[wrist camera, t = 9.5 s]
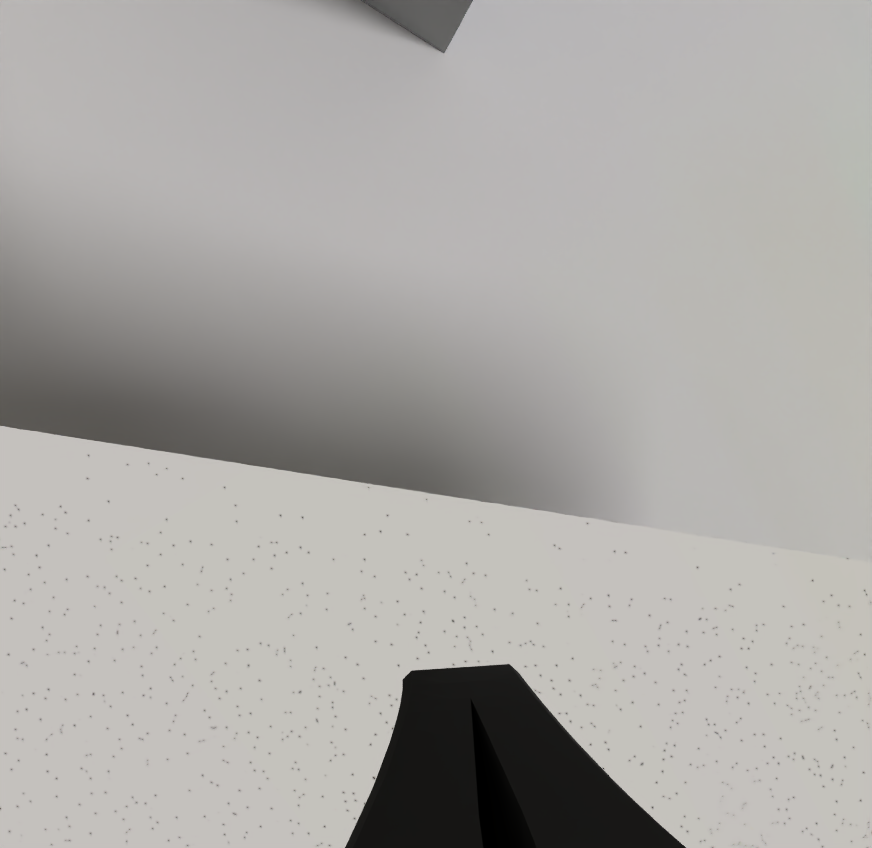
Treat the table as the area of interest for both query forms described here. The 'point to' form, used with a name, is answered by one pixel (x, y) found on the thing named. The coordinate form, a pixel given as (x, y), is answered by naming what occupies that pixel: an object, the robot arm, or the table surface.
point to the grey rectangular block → (425, 17)
